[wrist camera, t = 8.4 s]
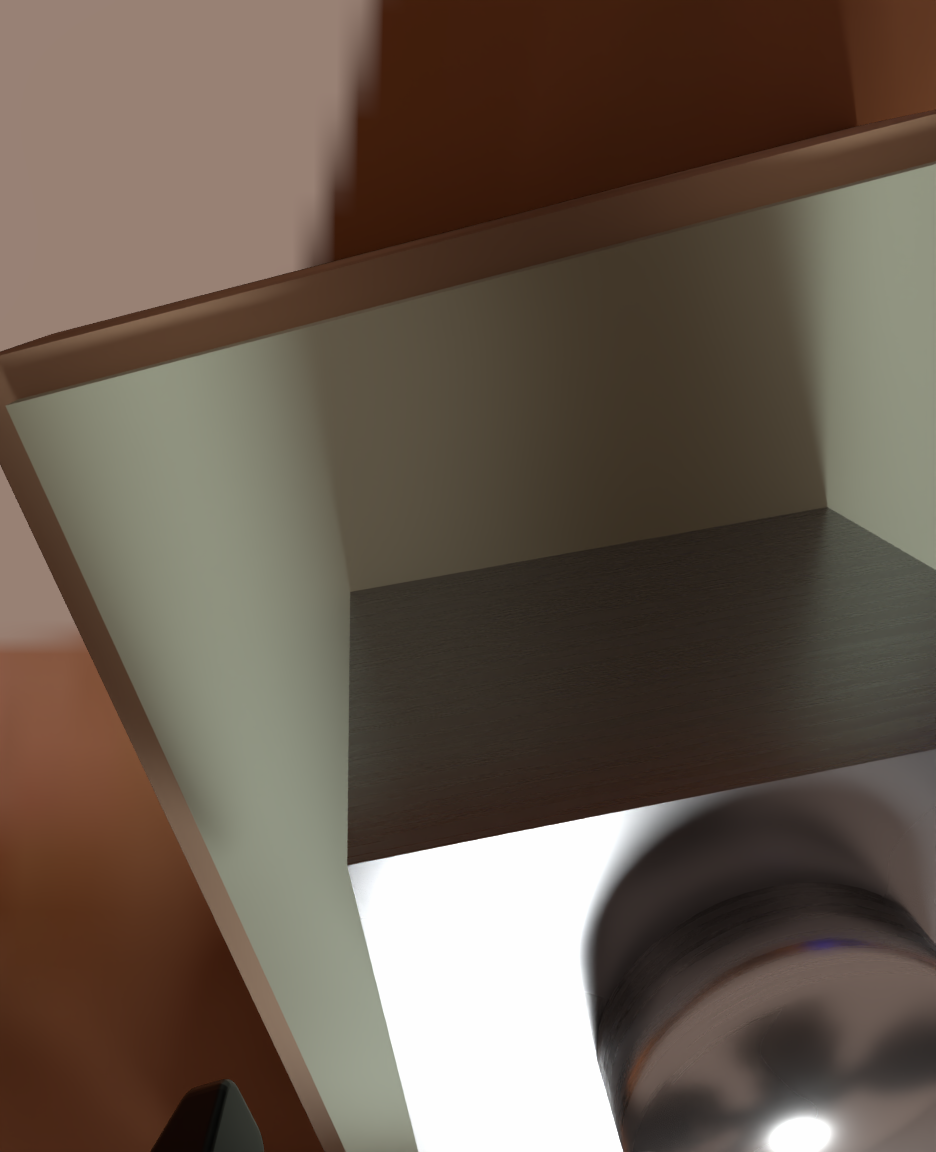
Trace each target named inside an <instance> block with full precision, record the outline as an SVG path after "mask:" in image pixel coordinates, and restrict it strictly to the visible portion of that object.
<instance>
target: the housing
mask: <svg viewBox="0 0 936 1152" xmlns="http://www.w3.org/2000/svg"><path fill="white" fill-rule="evenodd" d="M347 867H348V871H349V875H350V879H351V883H352V887H353V891H354V895H355V899H356V903H357V907H358V911H359V915H360V919H361V923H362V927H363V931H364V935H365V939H366V943H367V947H368V951H369V955H370V959H371V963H372V967H373V971H374V975H375V979H376V983H377V987H378V991H379V995H380V999H381V1004H382V1008H383V1012H384V1016H385V1020H386V1024H387V1028H388V1032H389V1036H390V1040H391V1044H392V1048H393V1052H394V1056H395V1060H396V1064H397V1068H398V1072H399V1076H400V1080H401V1084H402V1088H403V1092H404V1096H405V1100H406V1104H407V1108H408V1112H409V1116H410V1120H411V1124H412V1128H413V1132H414V1136H415V1140H416V1144H417V1148H418V1152H936V570H935V569H933V568H931V567H930V566H928V565H926V564H925V563H923V562H921V561H919V560H918V559H916V558H914V557H913V556H911V555H909V554H907V553H906V552H904V551H902V550H901V549H899V548H897V547H895V546H894V545H892V544H890V543H889V542H887V541H885V540H883V539H882V538H880V537H878V536H877V535H875V534H873V533H871V532H870V531H868V530H866V529H864V528H863V527H861V526H859V525H858V524H856V523H854V522H852V521H851V520H849V519H847V518H846V517H844V516H842V515H840V514H839V513H837V512H835V511H834V510H832V509H830V508H828V507H824V508H819V509H813V510H807V511H802V512H796V513H791V514H785V515H779V516H774V517H768V518H762V519H757V520H751V521H746V522H740V523H734V524H729V525H723V526H718V527H712V528H706V529H701V530H695V531H689V532H684V533H678V534H673V535H667V536H661V537H656V538H650V539H645V540H639V541H633V542H628V543H622V544H616V545H611V546H605V547H600V548H594V549H588V550H583V551H577V552H572V553H566V554H560V555H555V556H549V557H544V558H538V559H532V560H527V561H521V562H515V563H510V564H504V565H499V566H493V567H487V568H482V569H476V570H471V571H465V572H459V573H454V574H448V575H442V576H437V577H431V578H426V579H420V580H414V581H409V582H403V583H398V584H392V585H386V586H381V587H375V588H370V589H364V590H358V591H353V592H350V655H349V745H348V836H347Z"/></svg>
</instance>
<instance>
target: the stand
mask: <svg viewBox="0 0 936 1152" xmlns="http://www.w3.org/2000/svg"><path fill="white" fill-rule="evenodd" d="M0 465H1V467H2V469H3V471H4V473H5V476H6V478H7V480H8V482H9V484H10V486H11V488H12V491H13V493H14V495H15V497H16V499H17V501H18V503H19V505H20V508H21V509H22V512H23V514H24V516H25V518H26V520H27V522H28V524H29V527H30V529H31V531H32V533H33V535H34V537H35V539H36V541H37V543H38V545H39V548H40V550H41V552H42V554H43V556H44V558H45V560H46V563H47V565H48V567H49V569H50V571H51V573H52V575H53V577H54V580H55V582H56V584H57V586H58V588H59V590H60V592H61V594H62V596H63V599H64V601H65V603H66V605H67V607H68V609H69V611H70V613H71V616H72V618H73V620H74V622H75V624H76V626H77V628H78V630H79V633H80V635H81V637H82V639H83V641H84V643H85V645H86V647H87V649H88V652H89V654H90V656H91V658H92V660H93V662H94V664H95V666H96V669H97V671H98V673H99V675H100V677H101V679H102V681H103V683H104V685H105V688H106V690H107V692H108V694H109V696H110V698H111V700H112V702H113V705H114V707H115V709H116V711H117V713H118V715H119V717H120V719H121V721H122V724H123V726H124V728H125V730H126V732H127V734H128V736H129V738H130V741H131V743H132V745H133V747H134V749H135V751H136V753H137V755H138V758H139V760H140V762H141V764H142V766H143V768H144V770H145V772H146V774H147V777H148V779H149V781H150V783H151V785H152V787H153V789H154V791H155V794H156V796H157V798H158V800H159V802H160V804H161V806H162V808H163V810H164V813H165V815H166V817H167V819H168V821H169V823H170V825H171V827H172V830H173V832H174V834H175V836H176V838H177V840H178V842H179V844H180V846H181V849H182V851H183V853H184V855H185V857H186V859H187V861H188V863H189V866H190V868H191V870H192V872H193V874H194V876H195V878H196V880H197V883H198V885H199V887H200V889H201V891H202V893H203V895H204V897H205V899H206V902H207V904H208V906H209V908H210V910H211V912H212V914H213V916H214V919H215V921H216V923H217V925H218V927H219V929H220V931H221V933H222V935H223V938H224V940H225V942H226V944H227V946H228V948H229V950H230V952H231V955H232V957H233V959H234V961H235V963H236V965H237V967H238V969H239V971H240V974H241V976H242V978H243V980H244V982H245V984H246V986H247V988H248V991H249V993H250V995H251V997H252V999H253V1001H254V1003H255V1005H256V1007H257V1010H258V1012H259V1014H260V1016H261V1018H262V1020H263V1022H264V1024H265V1027H266V1029H267V1031H268V1033H269V1035H270V1037H271V1039H272V1041H273V1044H274V1046H275V1048H276V1050H277V1052H278V1054H279V1056H280V1058H281V1060H282V1063H283V1065H284V1067H285V1069H286V1071H287V1073H288V1075H289V1077H290V1080H291V1082H292V1084H293V1086H294V1088H295V1090H296V1092H297V1094H298V1096H299V1099H300V1101H301V1103H302V1105H303V1107H304V1109H305V1111H306V1113H307V1116H308V1118H309V1120H310V1122H311V1124H312V1126H313V1128H314V1130H315V1132H316V1135H317V1137H318V1139H319V1141H320V1143H321V1145H322V1147H323V1149H324V1152H418V1148H417V1144H416V1140H415V1136H414V1132H413V1128H412V1124H411V1120H410V1116H409V1112H408V1108H407V1104H406V1100H405V1096H404V1092H403V1088H402V1084H401V1080H400V1076H399V1072H398V1068H397V1064H396V1060H395V1056H394V1052H393V1048H392V1044H391V1040H390V1036H389V1032H388V1028H387V1024H386V1020H385V1016H384V1012H383V1008H382V1004H381V999H380V995H379V991H378V987H377V983H376V979H375V975H374V971H373V967H372V963H371V959H370V955H369V951H368V947H367V943H366V939H365V935H364V931H363V927H362V923H361V919H360V915H359V911H358V907H357V903H356V899H355V895H354V891H353V887H352V883H351V879H350V875H349V871H348V867H347V836H348V745H349V655H350V592H353V591H358V590H364V589H370V588H375V587H381V586H386V585H392V584H398V583H403V582H409V581H414V580H420V579H426V578H431V577H437V576H442V575H448V574H454V573H459V572H465V571H471V570H476V569H482V568H487V567H493V566H499V565H504V564H510V563H515V562H521V561H527V560H532V559H538V558H544V557H549V556H555V555H560V554H566V553H572V552H577V551H583V550H588V549H594V548H600V547H605V546H611V545H616V544H622V543H628V542H633V541H639V540H645V539H650V538H656V537H661V536H667V535H673V534H678V533H684V532H689V531H695V530H701V529H706V528H712V527H718V526H723V525H729V524H734V523H740V522H746V521H751V520H757V519H762V518H768V517H774V516H779V515H785V514H791V513H796V512H802V511H807V510H813V509H819V508H824V507H828V508H830V509H832V510H834V511H835V512H837V513H839V514H840V515H842V516H844V517H846V518H847V519H849V520H851V521H852V522H854V523H856V524H858V525H859V526H861V527H863V528H864V529H866V530H868V531H870V532H871V533H873V534H875V535H877V536H878V537H880V538H882V539H883V540H885V541H887V542H889V543H890V544H892V545H894V546H895V547H897V548H899V549H901V550H902V551H904V552H906V553H907V554H909V555H911V556H913V557H914V558H916V559H918V560H919V561H921V562H923V563H925V564H926V565H928V566H930V567H931V568H933V569H935V570H936V110H932V111H927V112H922V113H918V114H913V115H908V116H903V117H899V118H894V119H889V120H884V121H879V122H875V123H870V124H865V125H860V126H856V127H852V128H849V129H845V130H841V131H837V132H833V133H829V134H825V135H821V136H818V137H814V138H810V139H806V140H802V141H798V142H794V143H790V144H786V145H783V146H779V147H775V148H771V149H767V150H763V151H759V152H755V153H752V154H748V155H744V156H740V157H736V158H732V159H728V160H724V161H721V162H717V163H713V164H709V165H705V166H701V167H697V168H693V169H690V170H686V171H682V172H678V173H674V174H670V175H666V176H662V177H659V178H655V179H651V180H647V181H643V182H639V183H635V184H631V185H628V186H624V187H620V188H616V189H612V190H608V191H604V192H600V193H597V194H593V195H589V196H585V197H581V198H577V199H573V200H569V201H566V202H562V203H558V204H554V205H550V206H546V207H542V208H538V209H535V210H531V211H527V212H523V213H519V214H515V215H511V216H507V217H504V218H500V219H496V220H492V221H488V222H484V223H480V224H476V225H473V226H469V227H465V228H461V229H457V230H453V231H449V232H445V233H442V234H438V235H434V236H430V237H426V238H422V239H418V240H414V241H411V242H407V243H403V244H399V245H395V246H391V247H387V248H383V249H380V250H376V251H372V252H368V253H364V254H360V255H356V256H352V257H349V258H345V259H341V260H337V261H333V262H329V263H325V264H321V265H318V266H314V267H310V268H306V269H302V270H298V271H294V272H290V273H287V274H283V275H279V276H275V277H271V278H268V279H264V280H260V281H256V282H252V283H248V284H244V285H241V286H236V287H232V288H228V289H225V290H221V291H217V292H213V293H209V294H205V295H201V296H197V297H194V298H190V299H186V300H182V301H178V302H174V303H170V304H166V305H163V306H159V307H155V308H151V309H147V310H143V311H140V312H135V313H131V314H128V315H124V316H120V317H116V318H112V319H108V320H105V321H100V322H97V323H93V324H89V325H85V326H81V327H77V328H73V329H70V330H66V331H62V332H58V333H54V334H51V335H48V336H45V337H42V338H39V339H36V340H33V341H30V342H27V343H24V344H22V345H18V346H15V347H13V348H10V349H7V350H4V351H1V352H0Z"/></svg>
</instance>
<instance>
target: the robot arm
mask: <svg viewBox="0 0 936 1152" xmlns="http://www.w3.org/2000/svg"><path fill="white" fill-rule="evenodd" d="M151 1152H264V1146H263V1141H262V1137H261V1133H260V1131H259V1128H258V1126H257V1124H256V1122H255V1120H254V1118H253V1116H252V1114H251V1112H250V1110H249V1108H248V1107H247V1105H246V1103H245V1101H244V1099H243V1097H242V1095H241V1093H240V1091H239V1089H238V1087H237V1086H236V1084H235V1083H234V1082H233V1081H231V1080H229V1079H223V1080H219V1081H216V1082H212V1083H208V1084H205V1085H201V1086H198V1087H195V1088H193V1089H191V1090H190V1091H189V1092H188V1093H187V1094H186V1095H185V1096H184V1097H183V1099H182V1100H181V1102H180V1103H179V1105H178V1107H177V1108H176V1110H175V1112H174V1113H173V1115H172V1117H171V1118H170V1120H169V1122H168V1123H167V1125H166V1127H165V1128H164V1130H163V1132H162V1133H161V1135H160V1137H159V1138H158V1140H157V1142H156V1143H155V1145H154V1147H153V1148H152V1150H151Z"/></svg>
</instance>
